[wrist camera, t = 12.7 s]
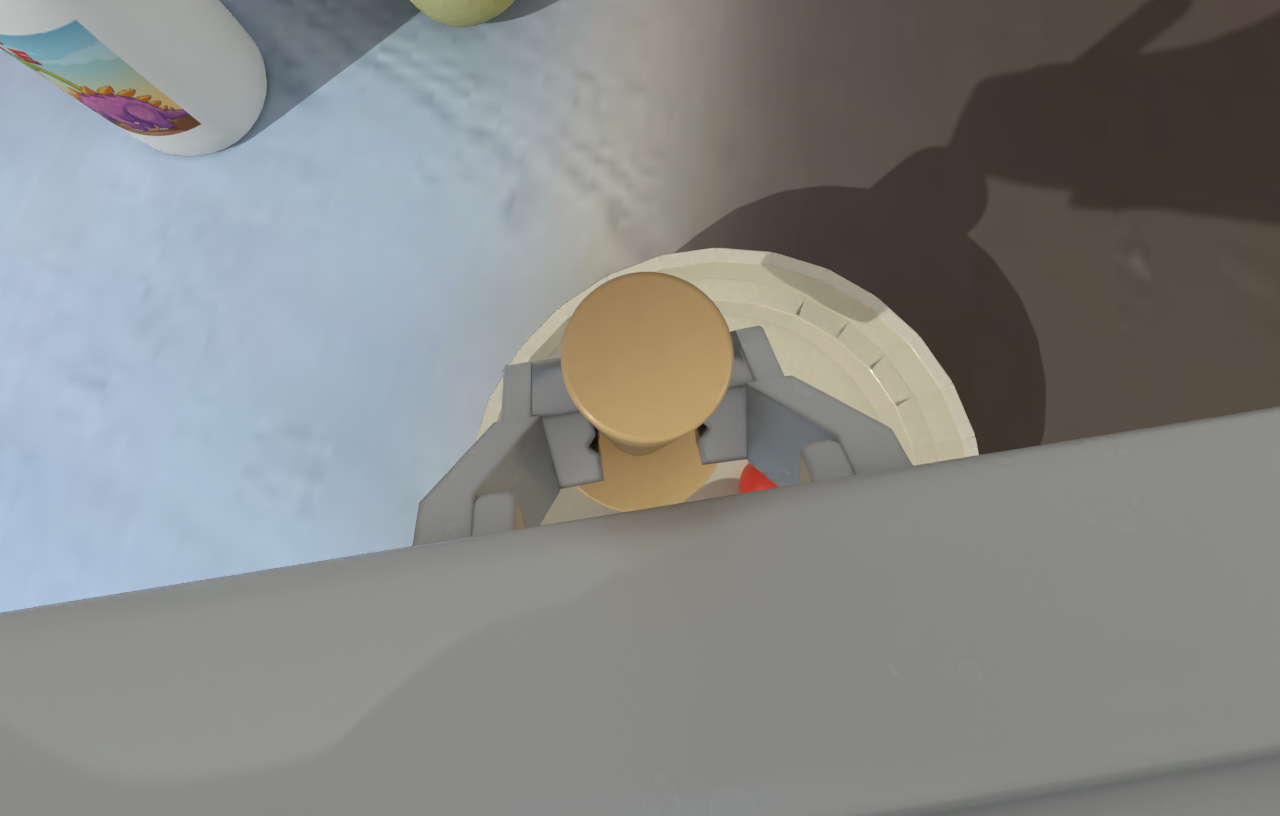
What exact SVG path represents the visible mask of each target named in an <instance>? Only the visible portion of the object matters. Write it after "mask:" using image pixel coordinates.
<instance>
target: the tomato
mask: <svg viewBox="0 0 1280 816" xmlns="http://www.w3.org/2000/svg"><path fill="white" fill-rule="evenodd" d="M777 487H778V486H777V485H776V484H774V483H773V482H772V481H771V480H770V479H768V478H767V477H766V476H765V475H764V474H762V473H761V472H760V471H759V470H758V469H756V468H755V467H754V466H753V465H752V464H750V463H748V464H747V465H746V466H745V468H744V469H743V471H742V474H741V476H740V482H739V489H740V493H746V492H753V491H759V490H765V489H771V488H777Z"/></svg>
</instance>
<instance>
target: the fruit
mask: <svg viewBox="0 0 1280 816" xmlns="http://www.w3.org/2000/svg"><path fill="white" fill-rule="evenodd" d="M410 1H411V2H412V3H413V4H414V5H415V6H416V7H417V8H418V9H419V10H421V11H422V12H423V13H424V14H426V15H427V16H429V17H430V18H432V19H433V20H435V21H437V22H440V23H442V24H445V25H449V26H455V27H467V26H474V25H478V24H481V23H484V22H486V21H488V20H490V19H492V18H494V17H496V16H498V15H499V14H501V13H502V12H504V11H505V10H506V9H507V8H508V7H510V6H511V5H512V4H513V2H514V1H515V0H410Z"/></svg>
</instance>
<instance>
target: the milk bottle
mask: <svg viewBox="0 0 1280 816" xmlns="http://www.w3.org/2000/svg"><path fill="white" fill-rule="evenodd" d="M0 48H1V49H2V50H4V51H5V52H7V53H8V54H10V55H11V56H13V57H14V58H16V59H17V60H19V61H20V62H22V63H23V64H25V65H26V66H28V67H29V68H31V69H32V70H34V71H35V72H37V73H38V74H40V75H41V76H42V77H44V78H45V79H47V80H48V81H50V82H51V83H53V84H54V85H56V86H57V87H59V88H60V89H62V90H64V91H65V92H67V93H68V94H70V95H71V96H73V97H74V98H76V99H77V100H79V101H80V102H82V103H83V104H85V105H86V106H88V107H89V108H91V109H92V110H94V111H95V112H97V113H98V114H100V115H101V116H103V117H104V118H106V119H107V120H109V121H110V122H112V123H113V124H115V125H116V126H118V127H120V128H121V129H123V130H124V131H126V132H127V133H129V134H130V135H132V136H133V137H135V138H137V139H138V140H140V141H142V142H143V143H145V144H147V145H148V146H150V147H152V148H154V149H156V150H159V151H161V152H164V153H168V154H173V155H180V156H200V155H205V154H212V153H215V152H217V151H220V150H223V149H226V148H227V147H229V146H230V145H232V144H234V143H235V142H237V141H238V140H240V139H241V138H242V137H243V136H244V135H245V134H246V133H247V132H248V131H249V130H250V129H251V127H252V126H253V125H254V123H255V122H256V121H257V119H258V117H259V115H260V113H261V111H262V109H263V105H264V101H265V98H266V88H267V79H266V70H265V65H264V61H263V58H262V55H261V53H260V51H259V49H258V47H257V45H256V44H255V42H254V41H253V39H252V38H251V37H250V35H249V34H248V33H247V32H246V31H245V29H244V28H243V27H242V26H241V25H240V23H239V22H238V21H237V20H236V19H235V18H234V17H233V15H232V14H231V13H230V12H229V11H228V10H227V9H226V7H225V6H224V5H223V4H222V3H221V2H220V1H219V0H0Z"/></svg>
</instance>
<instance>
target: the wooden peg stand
mask: <svg viewBox="0 0 1280 816" xmlns="http://www.w3.org/2000/svg"><path fill="white" fill-rule="evenodd" d="M733 365H734V349H733V343H732V338H731V334H730V331H729V328H728V326H727V323H726V321H725V319H724V317H723V315H722V314H721V312H720V310H719V309H718V307H717V306H716V305H715V304H714V302H713V301H712V300H711V299H710V298H709V297H708V296H707V295H706V294H705V293H704V292H702V291H701V290H700V289H698V288H697V287H696V286H694V285H693V284H691V283H689V282H687V281H685V280H683V279H681V278H678V277H676V276H673V275H669V274H665V273H658V272H636V273H629V274H625V275H622V276H618V277H616V278H614V279H611V280H609V281H607V282H605V283H603V284H602V285H600V286H598V287H597V288H596V289H594V290H593V291H592V292H591V293H589V294H588V295H587V296H586V297H585V298H584V299H583V300H582V301H581V303H580V304H579V305H578V307H577V308H576V309H575V311H574V313H573V314H572V316H571V318H570V319H569V322H568V324H567V327H566V329H565V332H564V336H563V339H562V346H561V369H562V375H563V379H564V383H565V386H566V388H567V391H568V393H569V396H570V397H571V399H572V401H573V402H574V404H575V406H576V407H577V408H578V410H579V411H580V412H581V414H582V415H583V416H584V417H585V418H586V419H587V420H588V421H589V422H590V423H591V424H593V425H594V426H595V427H596V428H597V429H598V430H599V435H600V439H599V443H600V449H601V454H602V462H603V472H604V481H600V482H595V483H590V484H584V485H579V486H575V487H576V488H577V489H578V490H579V491H580V492H581V493H583V494H584V495H585V496H587V497H588V498H589V499H591V500H593V501H595V502H596V503H598V504H600V505H602V506H605V507H607V508H610V509H613V510H617V511H621V512H628V511H635V510H641V509H647V508H653V507H659V506H666V505H672V504H678V503H681V502H682V501H684V500H686V499H687V498H689V497H690V496H691V495H693V494H694V493H695V492H697V491H698V490H699V489H700V488H701V487H702V486H703V485H704V484H705V483H706V481H707V480H708V479H709V477H710V476H711V475H712V473H713V472H714V470H715V468H716V466H717V464H718V463H714V464H707V465H702V462H701V458H700V455H699V451H698V447H697V444H696V439H695V429H697V428H698V427H699V426H700V425H702V424H703V423H704V422H705V421H706V420H707V419H708V418H709V417H710V416H711V415H712V414H713V413H714V412H715V411H716V409H717V408H718V407H719V405H720V404H721V402H722V400H723V398H724V397H725V395H726V392H727V390H728V387H729V385H730V381H731V378H732V374H733Z"/></svg>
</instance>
